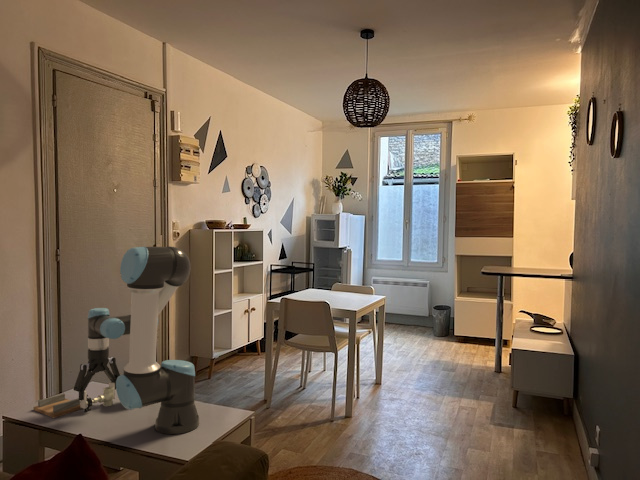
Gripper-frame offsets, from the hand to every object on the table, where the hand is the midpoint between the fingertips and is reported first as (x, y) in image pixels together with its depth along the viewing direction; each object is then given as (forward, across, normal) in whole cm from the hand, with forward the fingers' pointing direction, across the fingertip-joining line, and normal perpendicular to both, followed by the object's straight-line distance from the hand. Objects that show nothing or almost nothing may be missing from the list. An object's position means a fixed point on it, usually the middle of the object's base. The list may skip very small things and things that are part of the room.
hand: (97, 403), depth 191 cm
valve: (+2, 0, 0) cm, 2 cm away
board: (+2, +9, -11) cm, 14 cm away
